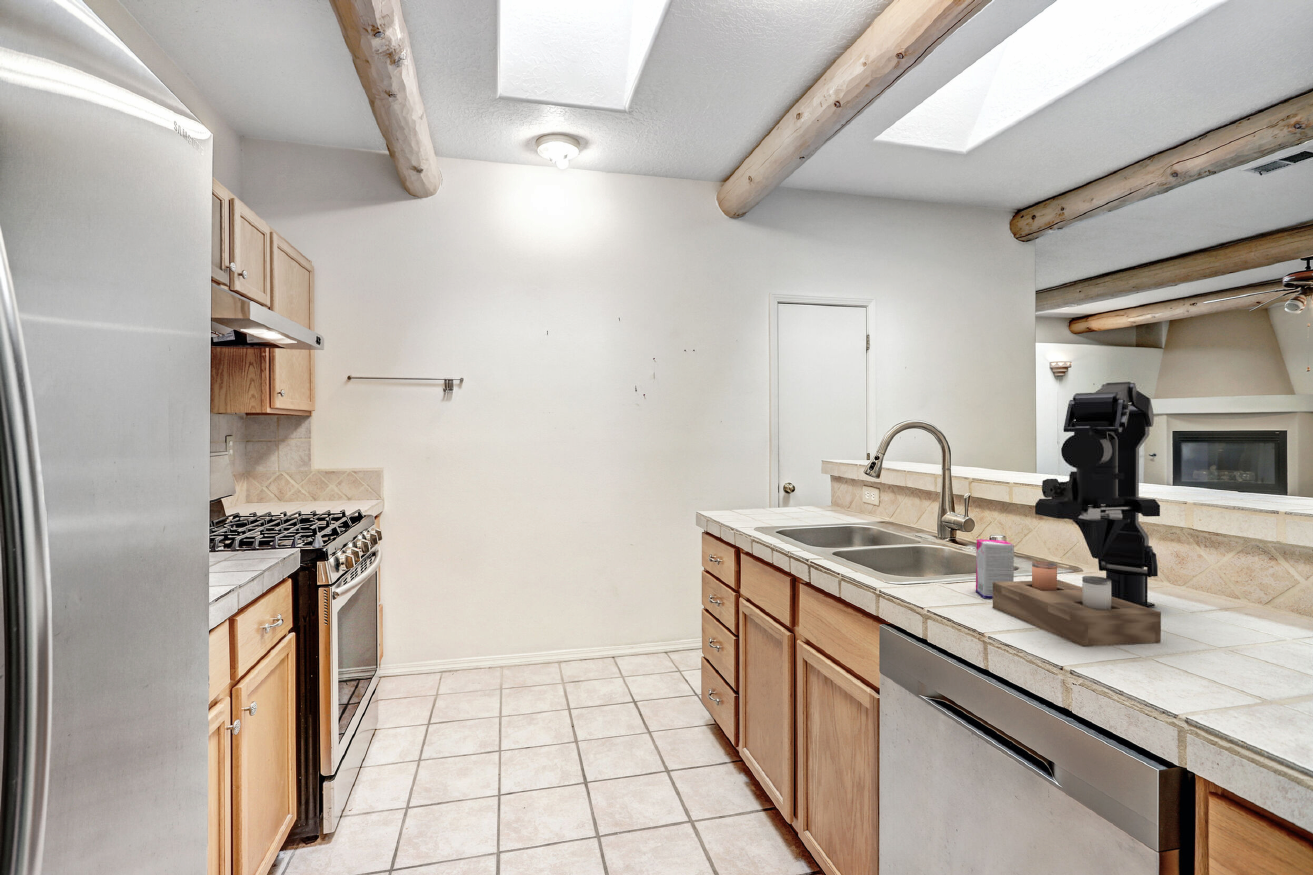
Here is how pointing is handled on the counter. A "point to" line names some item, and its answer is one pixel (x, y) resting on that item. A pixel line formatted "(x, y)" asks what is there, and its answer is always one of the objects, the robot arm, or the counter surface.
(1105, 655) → the counter surface
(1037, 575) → the terracotta plug
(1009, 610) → the wooden holder block
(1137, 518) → the robot arm
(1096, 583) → the plug
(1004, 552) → the supplement box
